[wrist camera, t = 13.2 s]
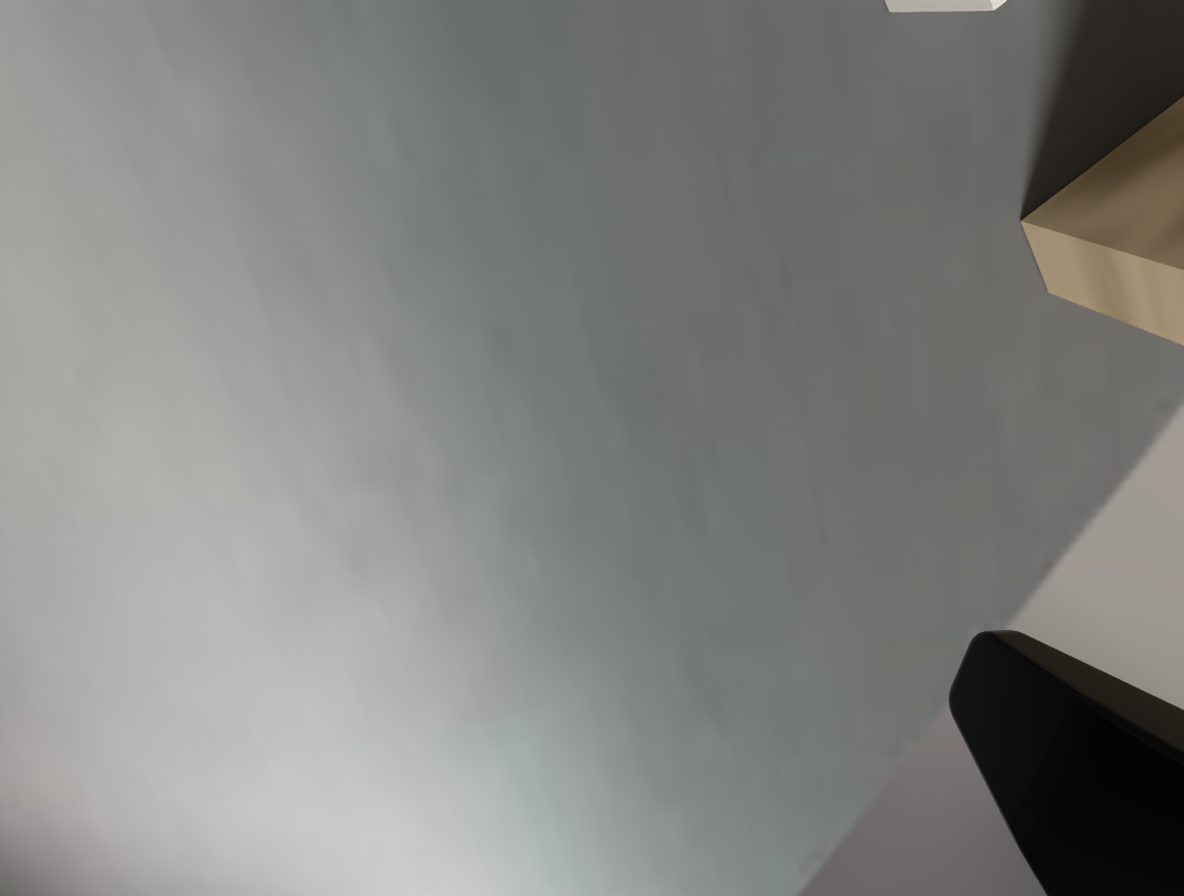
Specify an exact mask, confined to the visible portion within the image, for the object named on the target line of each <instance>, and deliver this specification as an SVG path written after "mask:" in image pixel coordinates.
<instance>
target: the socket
mask: <svg viewBox="0 0 1184 896" xmlns="http://www.w3.org/2000/svg"><path fill="white" fill-rule="evenodd" d="M1005 1H1007V0H885V2H886V4H887V7H888V9H889V12H935V11H994V10H995V9H997V8H998V7H999V6H1000V5H1002V4H1003V3H1004V2H1005Z"/></svg>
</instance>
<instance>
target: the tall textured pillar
mask: <svg viewBox="0 0 1184 896" xmlns="http://www.w3.org/2000/svg"><path fill="white" fill-rule="evenodd" d="M1021 223H1022V226H1023V228H1024V231H1025V233H1026V236H1027V239H1028V241H1029V244H1030V246H1031V249H1032V251H1033V254H1034V256H1035V259H1036V261H1037V264H1038V267H1039V269H1040V272H1041V274H1042V277H1043V279H1044V282H1045V284H1046V287H1047V289H1048V292H1049V293H1051V294H1054V295H1057V296H1059V297H1062V298H1064V299H1067V300H1069V301H1072V302H1074V303H1077V304H1079V305H1082V306H1085V307H1087V308H1090V309H1092V310H1095V311H1097V312H1100V313H1102V314H1105V315H1108V316H1110V317H1113V318H1115V319H1118V320H1120V321H1123V322H1125V323H1128V324H1130V325H1133V326H1136V327H1138V328H1141V329H1143V330H1146V331H1148V332H1151V333H1153V334H1156V335H1159V336H1161V337H1164V338H1166V339H1169V340H1171V341H1174V342H1176V343H1179V344H1182V345H1184V96H1183V97H1182V98H1180V99H1179V100H1178V101H1177V102H1175V103H1174V104H1173V105H1171V106H1170V107H1169V108H1167V109H1166V110H1165V111H1164V112H1162V113H1161V114H1160V115H1158V116H1157V117H1156V118H1154V119H1153V120H1152V121H1150V122H1149V123H1148V124H1147V125H1145V126H1144V127H1143V128H1141V129H1140V130H1139V131H1137V132H1136V133H1135V134H1134V135H1132V136H1131V137H1130V138H1128V139H1127V140H1126V141H1124V142H1123V143H1122V144H1120V145H1119V146H1118V147H1117V148H1115V149H1114V150H1113V151H1111V152H1110V153H1109V154H1107V155H1106V156H1105V157H1104V158H1102V159H1101V160H1100V161H1098V162H1097V163H1096V164H1094V165H1093V166H1092V167H1090V168H1089V169H1088V170H1087V171H1085V172H1084V173H1083V174H1081V175H1080V176H1079V177H1077V178H1076V179H1075V180H1074V181H1072V182H1071V183H1070V184H1068V185H1067V186H1066V187H1064V188H1063V189H1062V190H1060V191H1059V192H1058V193H1057V194H1055V195H1054V196H1053V197H1051V198H1050V199H1049V200H1047V201H1046V202H1045V203H1044V204H1042V205H1041V206H1040V207H1038V208H1037V209H1036V210H1034V211H1033V212H1032V213H1030V214H1029V215H1028V216H1027V217H1025V218H1024V219H1023V220H1021Z"/></svg>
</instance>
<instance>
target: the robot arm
mask: <svg viewBox="0 0 1184 896" xmlns="http://www.w3.org/2000/svg"><path fill="white" fill-rule="evenodd" d="M949 707H950V711H951V714H952V716H953V719H954V720H955V723H956V725H957V727H958V729H959V731H960V732H961V734H962V736H963V739H964V741H965V742H966V745H967V747H968V749H969V751H970V753H971V755H972V757H973V759H974V761H975V763H976V765H977V767H978V769H979V771H980V773H981V774H982V777H983V779H984V781H985V783H986V785H987V787H988V789H989V791H990V793H991V795H992V797H993V799H994V801H995V802H996V805H997V807H998V809H999V811H1000V813H1001V814H1002V816H1003V819H1004V821H1005V823H1006V825H1007V827H1008V829H1009V830H1010V833H1011V834H1012V836H1013V838H1014V840H1015V842H1016V844H1017V846H1018V848H1019V850H1020V851H1021V853H1022V855H1023V857H1024V858H1025V860H1026V861H1027V863H1028V865H1029V867H1030V869H1031V870H1032V872H1033V874H1034V876H1035V877H1036V879H1037V880H1038V882H1039V884H1040V885H1041V887H1042V889H1043V890H1044V892H1045V894H1046V895H1047V896H1184V710H1183V709H1180V708H1179V707H1176V706H1174V705H1172V704H1170V703H1168V702H1166V701H1164V700H1162V699H1160V698H1158V697H1155V696H1153V695H1151V694H1149V693H1147V692H1145V691H1143V690H1140V689H1139V688H1136V687H1135V686H1132V685H1130V684H1128V683H1126V682H1124V681H1122V680H1120V679H1118V678H1116V677H1114V676H1111V675H1109V674H1107V673H1105V672H1103V671H1101V670H1099V669H1097V668H1094V667H1093V666H1090V665H1088V664H1086V663H1084V662H1082V661H1080V660H1078V659H1076V658H1074V657H1071V656H1069V655H1067V654H1065V653H1063V652H1061V651H1059V650H1057V649H1054V648H1053V647H1050V646H1048V645H1046V644H1044V643H1042V642H1040V641H1038V640H1036V639H1034V638H1031V637H1030V636H1027V635H1025V634H1023V633H1020V632H1018V631H1013V630H1001V631H984V632H981V633H978V634H977V635H976V636H975V637H974V638H973V639H972V641H971V642H970V644H969V646H968V649H967V651H966V653H965V656H964V658H963V660H962V663H961V665H960V667H959V670H958V672H957V674H956V677H955V679H954V681H953V684H952V686H951V689H950V692H949Z"/></svg>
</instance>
